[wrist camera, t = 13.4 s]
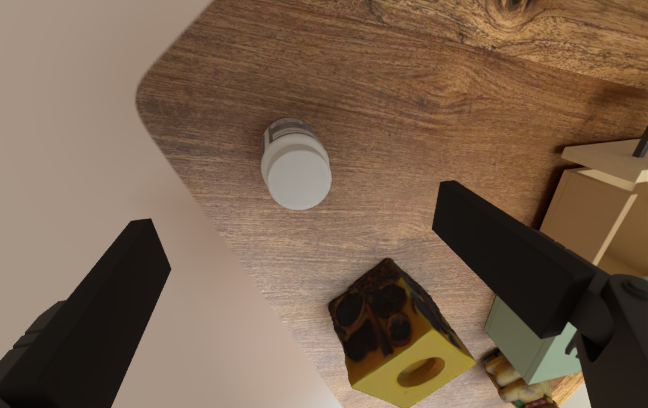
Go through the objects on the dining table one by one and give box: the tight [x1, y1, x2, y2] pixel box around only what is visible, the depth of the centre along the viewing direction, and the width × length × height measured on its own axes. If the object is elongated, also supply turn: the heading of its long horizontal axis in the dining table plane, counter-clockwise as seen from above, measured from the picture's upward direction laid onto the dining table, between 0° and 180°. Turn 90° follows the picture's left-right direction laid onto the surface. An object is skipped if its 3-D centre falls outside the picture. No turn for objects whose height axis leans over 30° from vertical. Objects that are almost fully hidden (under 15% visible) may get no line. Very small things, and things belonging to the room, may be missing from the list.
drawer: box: [539, 126, 648, 278], centre depth 29 cm, size 21×12×7 cm, turn 2°
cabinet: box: [484, 276, 648, 385], centre depth 37 cm, size 17×14×9 cm
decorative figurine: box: [483, 351, 558, 408], centre depth 43 cm, size 10×8×15 cm
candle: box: [328, 259, 476, 408], centre depth 31 cm, size 10×10×10 cm
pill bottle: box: [261, 118, 332, 210], centre depth 20 cm, size 5×5×8 cm
